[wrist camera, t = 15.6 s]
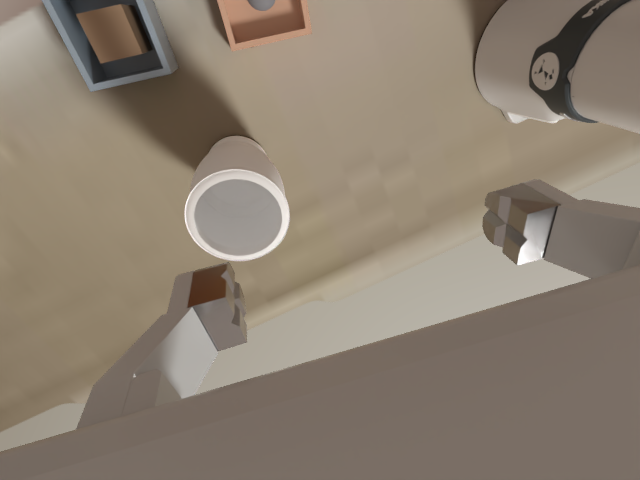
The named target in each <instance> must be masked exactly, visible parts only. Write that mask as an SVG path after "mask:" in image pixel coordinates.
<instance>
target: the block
mask: <svg viewBox="0 0 640 480" xmlns="http://www.w3.org/2000/svg"><path fill="white" fill-rule="evenodd" d="M76 16H77V18H78V20H79V22H80V24H81V26H82V28H83V30H84V31H85V33H86V35H87V37H88V39H89V41H90V43H91V45H92V47H93V49H94V51H95V53H96V55H97V57H98V59H99V61H100V63H105V62H110V61H114V60H118V59H122V58H127V57H131V56H135V55H139V54H143V53H146V52H148V51H151V50H153V49H152V46H151V44H150V42H149V39H148V37H147V35H146V32H145V30H144V27H143V25H142V23H141V20H140V18H139V15H138V13H137V11H136V8H135V6H132V5H124V4H119V5H114V6H110V7H105V8H101V9H97V10H92V11H88V12H83V13H79V14H76Z"/></svg>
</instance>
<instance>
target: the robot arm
mask: <svg viewBox="0 0 640 480" xmlns="http://www.w3.org/2000/svg"><path fill="white" fill-rule="evenodd" d="M475 76H476V82H477V86H478V88H479V91H480V93H481V94H482V96H483V97H484V98H485V99H486V100H487V101H488V102H489V103H491V104H492V105H494V106H496V107H498V108H499V109H501V110H502V112H503V114H504V116H505V118H506V119H507V120H508V121H509V122H512V123H519V122H521V121H524V120H526V119H528V118H530V119H535V120H539V121H543V122H548V123H556V122H557V121H558V120H561V119H564V118H567V119H570V120H574V121H580V122H587V123H597V122H601V123H605V124H608V125H611V126H615V127H618V128H622V129H625V130H629V131H632V132H636V133H639V134H640V0H507V1H506V2H505V3H504V4H503V5H502V6H501V7H500V8H499V10H498V11H497V12H496V13H495V15H494V16H493V18H492V19H491V21H490V22H489V24H488V26H487V27H486V29H485V31H484V33H483V36H482V38H481V41H480V44H479V47H478V50H477V55H476V62H475ZM485 206H486V208H487V209H488V211H487V213H486V214H485V215H484V217H483V230H484V233H485V235H486V237H487V239H488V240H489V241H490V242H491V243H492V244H494V245H497V246H500V247H503V253H504V254H505V255H506V256H507V257H508V258H509V259H511V260H512V261H513V262H514V263H515V264H516V265H520V264H524V263H528V262H531V261H535V260H539V259H544V260H546V261H548V262H551V263H553V264H556V265H559V266H561V267H563V268H566V269H568V270H571V271H573V272H576V273H578V274H581V275H584V276H586V277H589V278H591V279H589V280H586V281H582V282H579V283H576V284H572V285H568V286H565V287H562V288H558V289H555V290H551V291H548V292H544V293H541V294H538V295H534V296H531V297H527V298H524V299H521V300H517V301H514V302H510V303H506V304H503V305H500V306H496V307H493V308H490V309H486V310H483V311H479V312H476V313H472V314H469V315H465V316H462V317H459V318H456V319H452V320H448V321H445V322H442V323H439V324H435V325H431V326H428V327H425V328H421V329H418V330H414V331H411V332H408V333H404V334H401V335H397V336H394V337H391V338H387V339H384V340H380V341H377V342H374V343H370V344H367V345H363V346H360V347H357V348H353V349H350V350H346V351H343V352H340V353H336V354H333V355H329V356H326V357H323V358H319V359H316V360H312V361H309V362H305V363H302V364H299V365H295V366H292V367H288V368H285V369H282V370H278V371H275V372H271V373H268V374H265V375H261V376H258V377H254V378H251V379H247V380H244V381H241V382H237V383H234V384H230V385H227V386H224V387H220V388H217V389H213V390H210V391H207V392H203V393H200V394H197V395H195V393H196V391H197V389H198V388H199V386H200V384H201V382H202V381H203V379H204V377H205V375H206V374H207V372H208V370H209V368H210V367H211V365H212V363H213V361H214V360H215V358H216V356H217V354H218V351H221V350H224V349H227V348H230V347H234V346H237V345H240V344H243V343H246V342H247V325H246V322H245V320H244V318H243V317H244V316H245V314H246V305H245V299H244V295H243V292H242V289H241V287H240V284H239V283H237V282H235V273H234V270H233V268H232V266H231V264H230V263H229V262H227V263H223V264H219V265H214V266H210V267H206V268H202V269H198V270H195V271H190V272H187V273H183V274H179V275H178V276H176V278H175V282H174V286H173V290H172V294H171V298H170V303H169V307H168V311H167V314H165V315H161V316H160V317H159V319H158V320H157V321H156V322H155V323H154V324H153V325H152V326H151V327H150V328H149V329H148V330H147V331H146V332H145V333H144V334H143V335H142V336H141V337H140V338H139V339H138V340H137V341H136V342H135V343H134V344H133V345H132V346H131V347H130V348H129V349H128V350H127V351H126V352H125V354H124V355H123V356H122V357H121V358H120V359H119V360H118V361H117V362H116V363H115V364H114V365H113V366H112V367H111V368H110V369H109V370H108V371H107V372H106V373H105V374H104V375H103V376H102V377H101V378H100V379H99V380H98V381H97V382H96V383H95V384H94V385H93V388H92V390H91V393H90V395H89V398H88V400H87V403H86V405H85V408H84V411H83V413H82V416H81V419H80V421H79V423H78V426H77V428H76V430H73V431H70V432H66V433H63V434H59V435H56V436H53V437H49V438H46V439H43V440H39V441H35V442H32V443H29V444H25V445H22V446H19V447H15V448H12V449H8V450H5V451H1V452H0V480H640V208H636V207H629V206H623V205H617V204H610V203H604V202H598V201H592V200H585V199H584V200H577V199H575V198H573V197H572V196H570V195H568V194H566V193H564V192H562V191H560V190H558V189H556V188H554V187H553V186H551V185H549V184H547V183H545V182H543V181H541V180H537V179H533V180H530V181H527V182H523V183H520V184H518V185H514V186H511V187H507V188H504V189H500V190H497V191H493V192H490V193H488V194H487V196H486V199H485Z"/></svg>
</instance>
